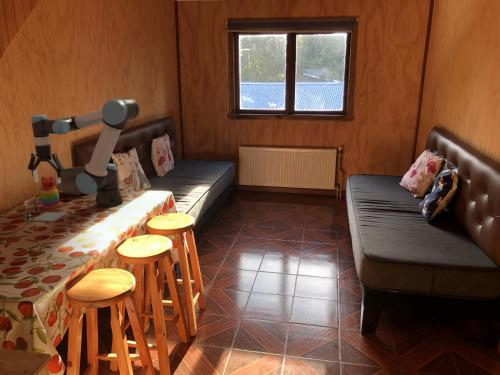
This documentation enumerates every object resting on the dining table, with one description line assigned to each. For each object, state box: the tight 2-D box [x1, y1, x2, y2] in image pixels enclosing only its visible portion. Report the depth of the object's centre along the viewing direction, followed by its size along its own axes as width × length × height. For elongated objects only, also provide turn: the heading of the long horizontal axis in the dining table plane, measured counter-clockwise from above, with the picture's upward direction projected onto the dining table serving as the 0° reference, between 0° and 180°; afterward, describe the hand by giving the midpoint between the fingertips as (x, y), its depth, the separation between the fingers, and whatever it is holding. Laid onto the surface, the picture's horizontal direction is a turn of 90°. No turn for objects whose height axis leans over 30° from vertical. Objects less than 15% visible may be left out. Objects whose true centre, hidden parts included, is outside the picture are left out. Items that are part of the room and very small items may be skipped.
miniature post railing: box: [23, 196, 41, 222], centre depth 221 cm, size 8×16×9 cm, turn 170°
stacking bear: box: [39, 175, 65, 211], centre depth 234 cm, size 11×10×18 cm
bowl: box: [57, 166, 85, 196], centre depth 260 cm, size 21×21×15 cm
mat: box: [31, 211, 68, 223], centre depth 220 cm, size 12×12×1 cm
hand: (47, 182), depth 233 cm, fingers open, 13 cm apart
